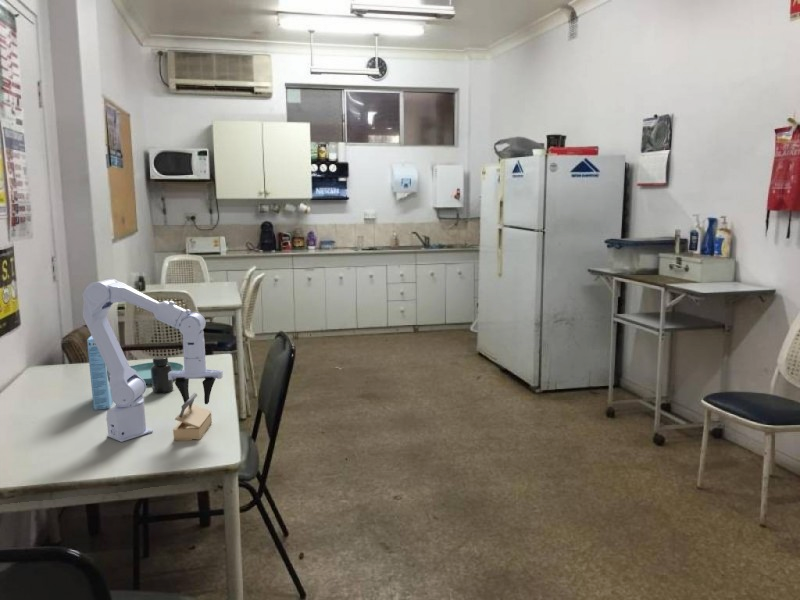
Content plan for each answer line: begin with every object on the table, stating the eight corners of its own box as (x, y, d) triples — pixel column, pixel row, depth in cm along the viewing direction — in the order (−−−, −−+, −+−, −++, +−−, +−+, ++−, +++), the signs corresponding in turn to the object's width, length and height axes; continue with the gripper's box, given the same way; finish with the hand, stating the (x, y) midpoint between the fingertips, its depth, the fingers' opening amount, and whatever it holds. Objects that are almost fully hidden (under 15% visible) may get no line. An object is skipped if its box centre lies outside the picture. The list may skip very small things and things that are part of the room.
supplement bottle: (166, 387, 216) (164, 354, 214) (177, 390, 212) (174, 357, 210) (148, 391, 211) (146, 358, 209) (158, 395, 207) (156, 361, 205)
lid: (175, 419, 165) (180, 405, 164) (188, 404, 178) (194, 391, 177) (198, 428, 166) (204, 414, 165) (210, 413, 178) (216, 399, 178)
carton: (173, 440, 166) (173, 429, 165) (187, 424, 178) (187, 414, 178) (199, 439, 166) (199, 429, 166) (211, 423, 179) (211, 413, 178)
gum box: (109, 408, 193) (103, 338, 190) (92, 410, 192) (85, 339, 188) (118, 391, 211) (113, 327, 208) (102, 393, 210) (96, 328, 207)
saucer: (134, 369, 241) (133, 361, 241) (193, 369, 240) (193, 361, 240) (101, 387, 217) (101, 378, 217) (167, 387, 216) (167, 378, 216)
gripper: (224, 352, 173) (226, 398, 175) (172, 353, 173) (175, 399, 175) (218, 358, 166) (220, 406, 168) (164, 359, 166) (167, 407, 168)
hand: (197, 403), depth 171 cm, fingers open, 5 cm apart
